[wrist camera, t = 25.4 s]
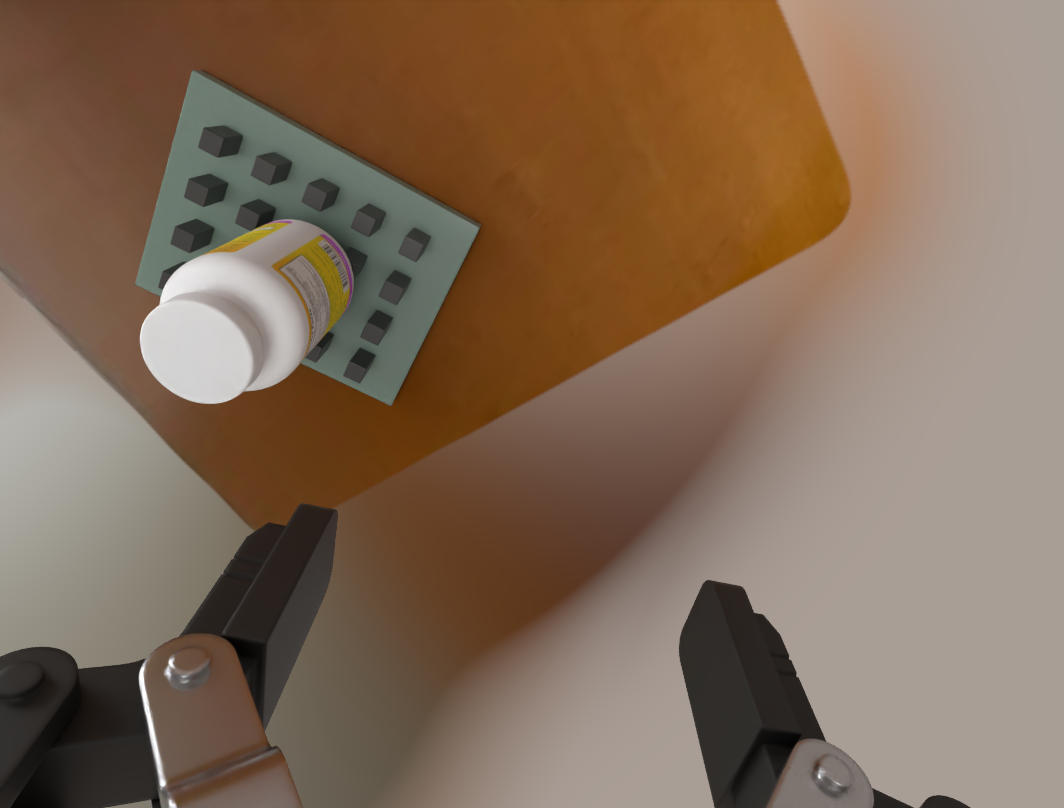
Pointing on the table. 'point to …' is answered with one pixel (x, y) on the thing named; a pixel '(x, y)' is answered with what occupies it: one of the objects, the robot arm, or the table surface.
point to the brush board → (322, 200)
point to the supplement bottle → (247, 311)
